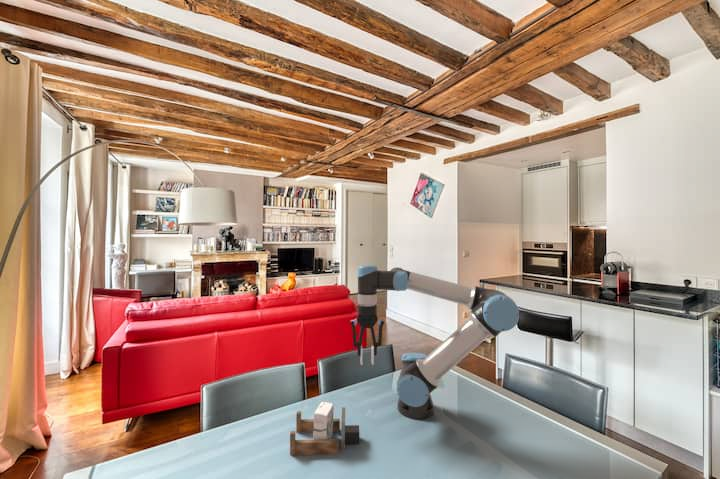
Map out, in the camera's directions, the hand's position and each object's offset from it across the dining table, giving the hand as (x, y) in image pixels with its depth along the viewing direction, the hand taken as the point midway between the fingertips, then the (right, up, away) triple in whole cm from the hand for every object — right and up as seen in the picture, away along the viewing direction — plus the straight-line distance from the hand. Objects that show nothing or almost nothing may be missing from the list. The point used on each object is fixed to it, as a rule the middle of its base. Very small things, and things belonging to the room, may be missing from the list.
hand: (367, 363), depth 121 cm
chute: (-17, -23, -13) cm, 31 cm away
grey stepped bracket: (-6, -22, -12) cm, 26 cm away
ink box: (-16, -23, -13) cm, 30 cm away
